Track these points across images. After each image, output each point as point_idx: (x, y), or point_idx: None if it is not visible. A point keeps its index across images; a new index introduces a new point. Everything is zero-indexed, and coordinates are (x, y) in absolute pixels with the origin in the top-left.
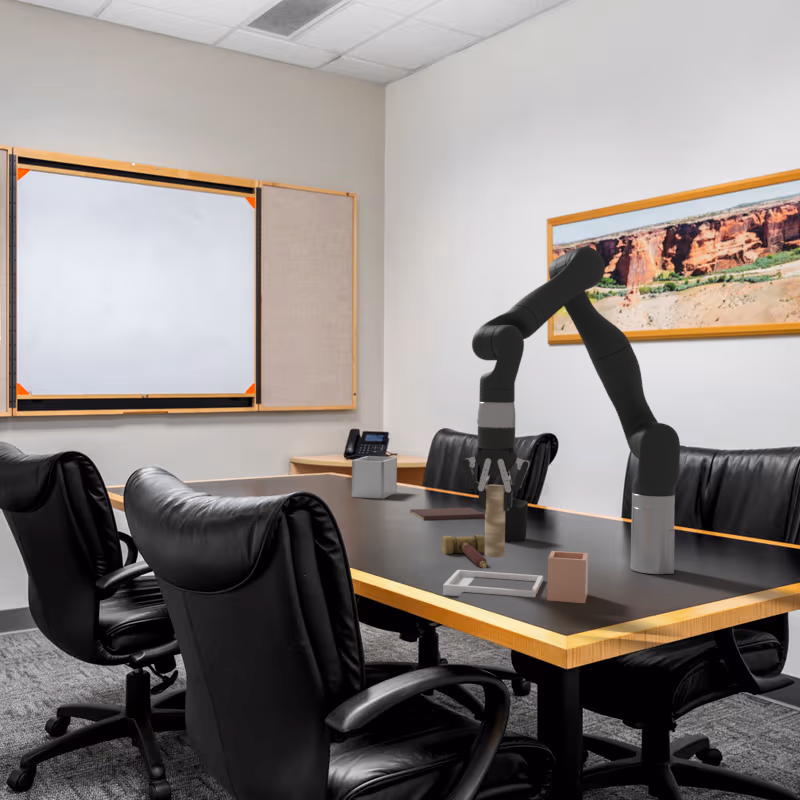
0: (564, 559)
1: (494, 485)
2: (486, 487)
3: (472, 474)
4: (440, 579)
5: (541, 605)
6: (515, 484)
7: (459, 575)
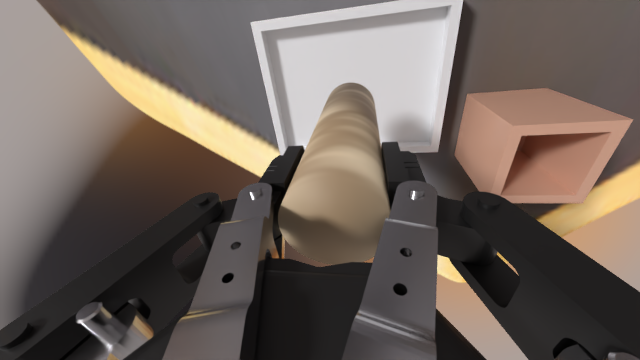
0: (526, 202)
1: (322, 214)
2: (294, 242)
3: (190, 292)
4: (231, 41)
5: (444, 157)
6: (461, 269)
7: (266, 42)
